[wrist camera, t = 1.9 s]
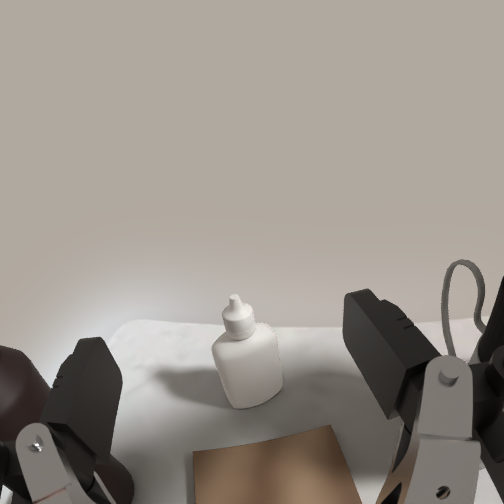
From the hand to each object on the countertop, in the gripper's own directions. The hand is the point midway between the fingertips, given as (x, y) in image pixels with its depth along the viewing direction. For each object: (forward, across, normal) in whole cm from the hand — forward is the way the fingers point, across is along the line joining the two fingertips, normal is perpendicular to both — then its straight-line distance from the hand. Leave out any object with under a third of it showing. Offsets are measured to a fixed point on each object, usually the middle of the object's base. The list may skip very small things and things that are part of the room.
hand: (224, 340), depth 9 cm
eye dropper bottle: (+12, -1, +18) cm, 22 cm away
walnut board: (+1, 0, +18) cm, 18 cm away
